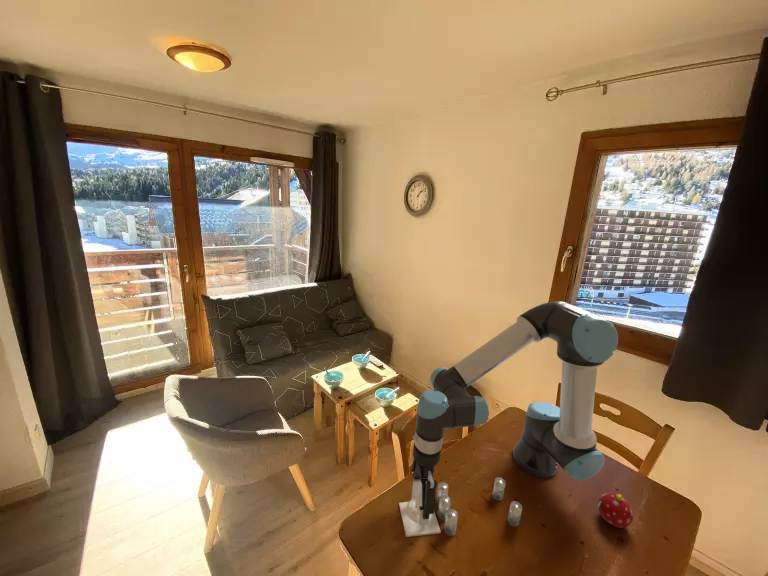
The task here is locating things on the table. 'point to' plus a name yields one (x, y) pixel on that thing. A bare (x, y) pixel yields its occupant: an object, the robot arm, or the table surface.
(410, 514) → the hook
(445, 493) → the cylinder
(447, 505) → the spacer
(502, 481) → the cylinder
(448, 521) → the cylinder
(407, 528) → the felt pad
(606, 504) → the christmas ornament
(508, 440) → the table surface
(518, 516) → the cylinder
